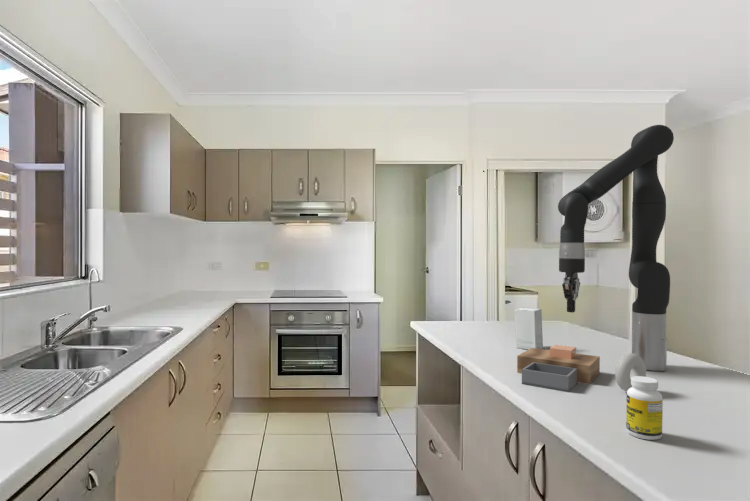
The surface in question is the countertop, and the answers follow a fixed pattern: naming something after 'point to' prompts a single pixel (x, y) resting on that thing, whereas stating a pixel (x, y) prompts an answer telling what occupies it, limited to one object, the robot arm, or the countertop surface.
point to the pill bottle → (644, 409)
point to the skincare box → (528, 328)
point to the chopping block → (562, 363)
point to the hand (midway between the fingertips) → (571, 312)
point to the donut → (629, 370)
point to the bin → (549, 376)
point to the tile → (563, 351)
